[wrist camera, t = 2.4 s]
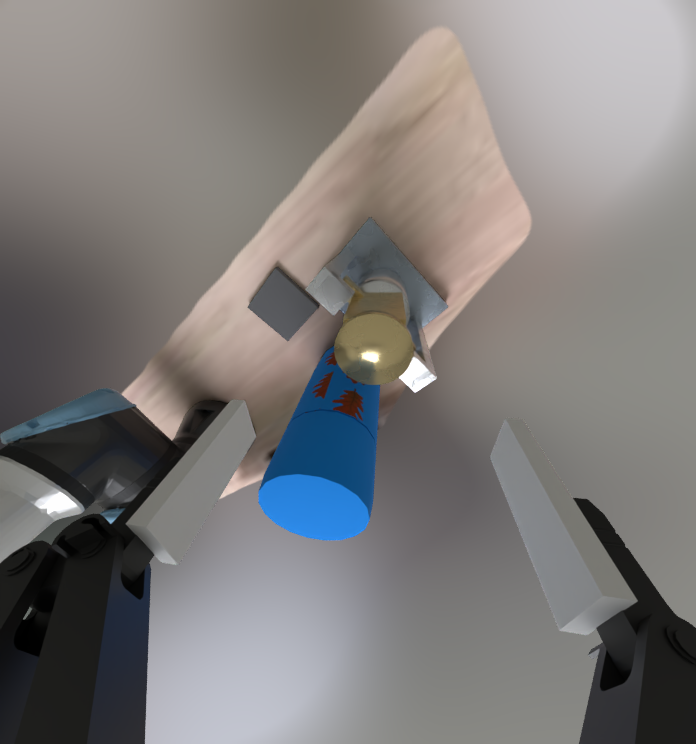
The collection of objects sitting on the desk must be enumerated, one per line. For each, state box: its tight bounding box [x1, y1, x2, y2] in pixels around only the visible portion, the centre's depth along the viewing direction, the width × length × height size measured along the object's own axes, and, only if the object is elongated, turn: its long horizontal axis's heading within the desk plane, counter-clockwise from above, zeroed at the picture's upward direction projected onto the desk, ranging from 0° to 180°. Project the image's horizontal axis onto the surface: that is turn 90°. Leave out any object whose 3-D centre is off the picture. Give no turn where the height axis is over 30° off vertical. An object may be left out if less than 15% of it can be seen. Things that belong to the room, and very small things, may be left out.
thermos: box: [259, 346, 380, 540], centre depth 34 cm, size 11×11×25 cm
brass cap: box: [334, 275, 416, 385], centre depth 25 cm, size 11×7×9 cm, turn 47°
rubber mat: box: [248, 267, 319, 341], centre depth 39 cm, size 8×8×1 cm
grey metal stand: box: [305, 217, 448, 392], centre depth 30 cm, size 11×15×16 cm
